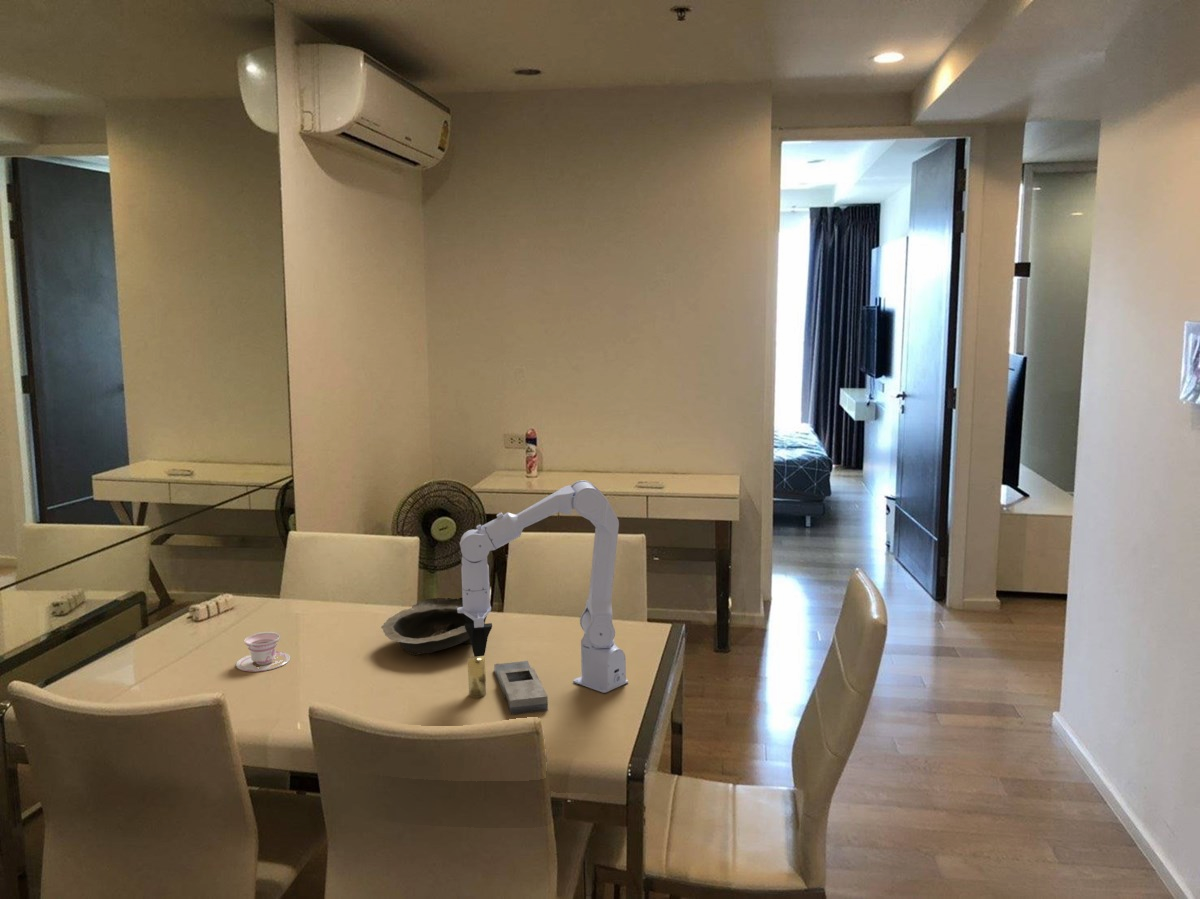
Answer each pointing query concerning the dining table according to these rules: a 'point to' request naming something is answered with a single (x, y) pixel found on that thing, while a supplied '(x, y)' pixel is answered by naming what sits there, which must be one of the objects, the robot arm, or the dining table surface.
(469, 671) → the pin
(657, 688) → the dining table surface
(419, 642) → the stone bowl
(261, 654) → the teacup
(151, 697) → the dining table surface
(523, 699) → the gray slotted block
